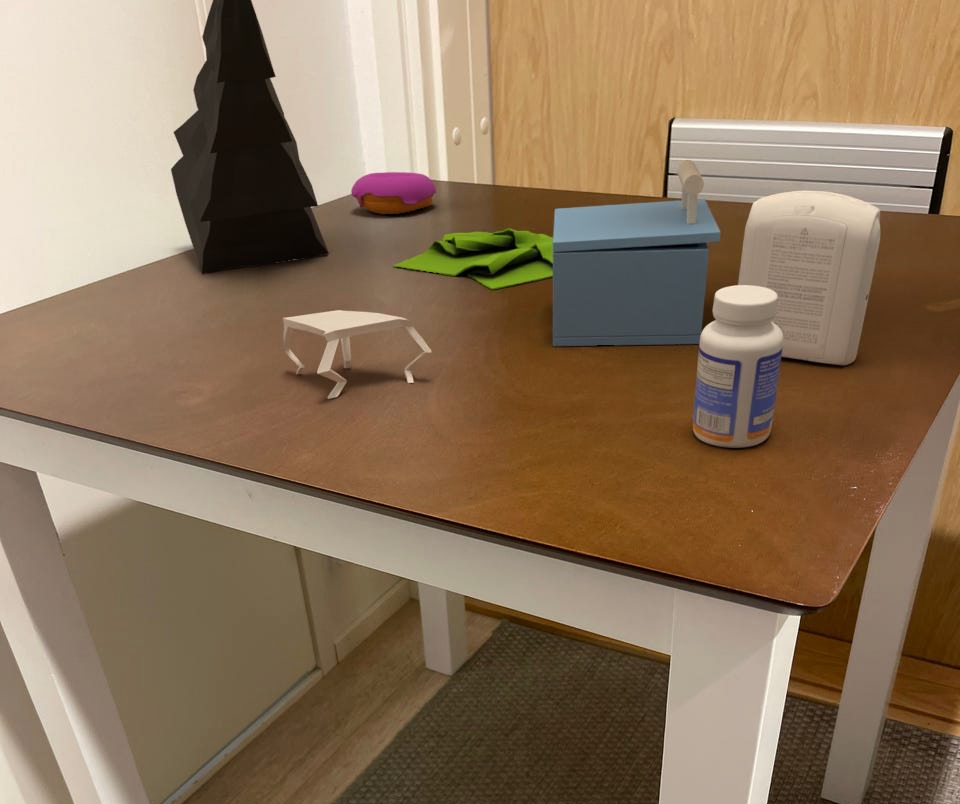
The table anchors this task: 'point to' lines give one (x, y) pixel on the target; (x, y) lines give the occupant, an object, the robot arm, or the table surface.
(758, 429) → the pill bottle
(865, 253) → the photo printer
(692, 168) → the case lid
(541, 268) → the cloth
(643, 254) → the case
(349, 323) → the origami figure
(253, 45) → the decorative tree
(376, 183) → the donut
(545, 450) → the table surface
